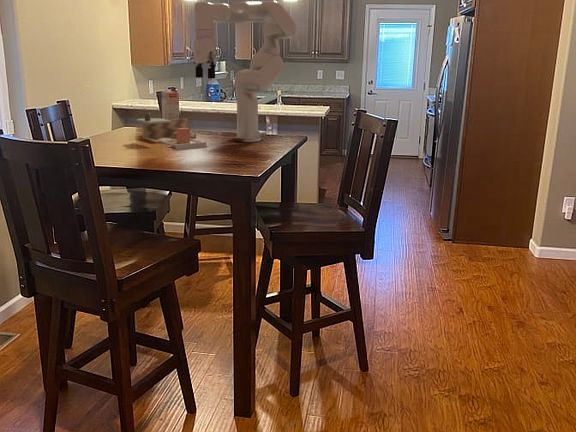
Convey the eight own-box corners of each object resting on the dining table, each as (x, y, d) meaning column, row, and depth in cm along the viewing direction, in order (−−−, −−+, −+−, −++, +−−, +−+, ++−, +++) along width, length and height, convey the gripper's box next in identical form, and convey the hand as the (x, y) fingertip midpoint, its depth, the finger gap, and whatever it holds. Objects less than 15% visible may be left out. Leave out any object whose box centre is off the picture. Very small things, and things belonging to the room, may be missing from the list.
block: (185, 144, 239) (184, 127, 237) (189, 145, 236) (189, 128, 234) (176, 144, 237) (176, 128, 235) (181, 146, 234) (180, 129, 232)
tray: (189, 143, 246) (189, 138, 246) (206, 147, 236) (206, 142, 235) (160, 145, 238) (160, 140, 237) (176, 150, 227) (176, 144, 227)
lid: (157, 119, 251) (157, 111, 250) (171, 122, 241) (170, 113, 240) (136, 120, 244) (136, 112, 243) (149, 123, 235) (149, 114, 234)
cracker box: (180, 137, 262) (179, 92, 256) (167, 138, 260) (165, 92, 254) (174, 133, 275) (173, 90, 269) (162, 134, 272) (160, 90, 267)
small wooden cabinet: (186, 137, 262) (186, 118, 259) (200, 141, 252) (200, 121, 250) (142, 141, 249) (141, 121, 246) (156, 145, 239) (155, 124, 236)
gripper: (185, 34, 231) (187, 77, 236) (207, 33, 218) (208, 78, 223) (201, 35, 235) (202, 77, 240) (223, 34, 223) (224, 78, 227)
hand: (205, 78), depth 231 cm, fingers open, 9 cm apart
